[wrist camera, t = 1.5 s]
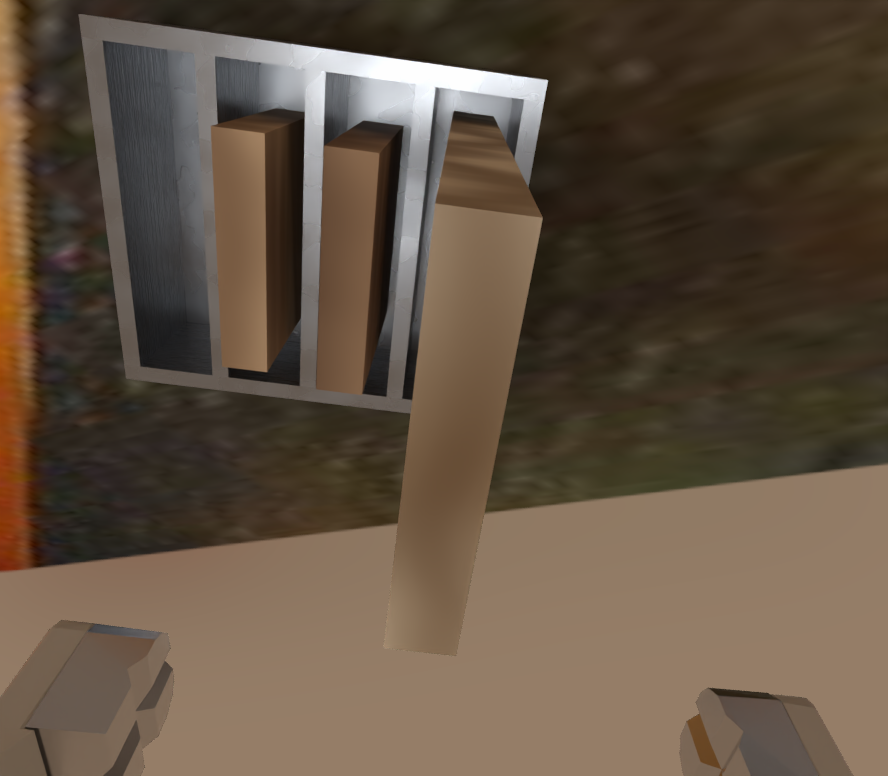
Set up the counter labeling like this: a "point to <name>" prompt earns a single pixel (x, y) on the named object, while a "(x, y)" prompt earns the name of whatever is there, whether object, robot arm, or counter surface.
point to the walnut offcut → (356, 251)
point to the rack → (326, 117)
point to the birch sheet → (460, 380)
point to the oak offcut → (258, 233)
